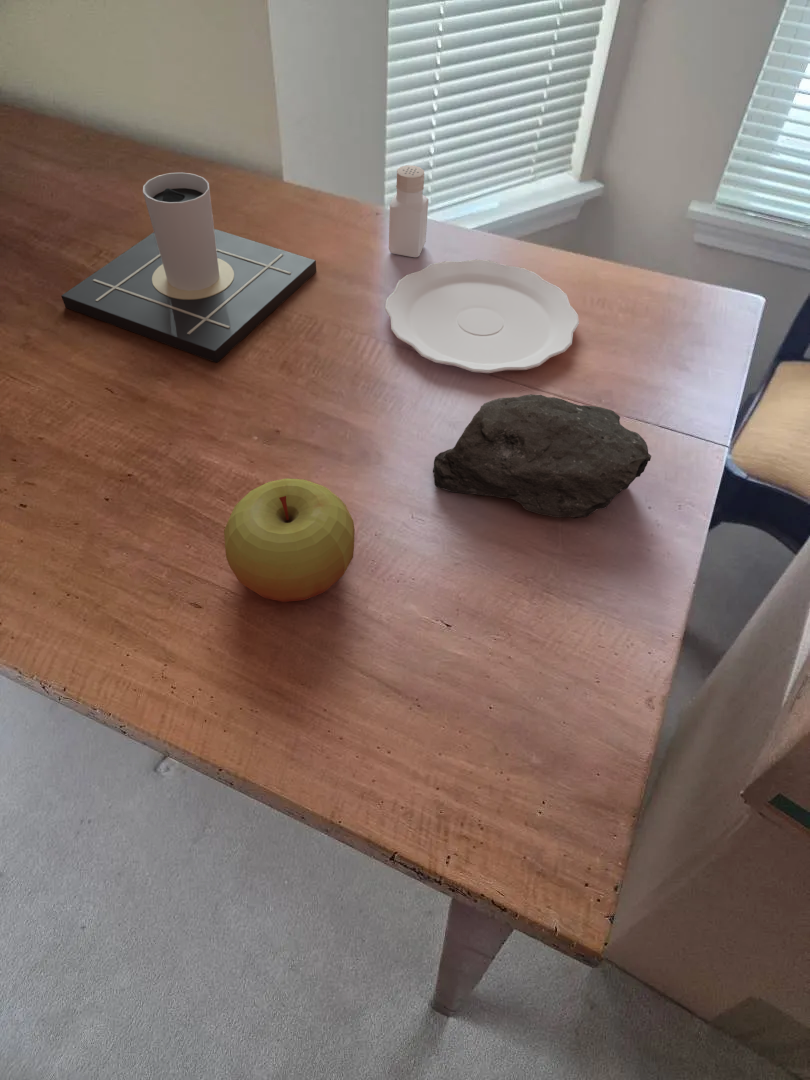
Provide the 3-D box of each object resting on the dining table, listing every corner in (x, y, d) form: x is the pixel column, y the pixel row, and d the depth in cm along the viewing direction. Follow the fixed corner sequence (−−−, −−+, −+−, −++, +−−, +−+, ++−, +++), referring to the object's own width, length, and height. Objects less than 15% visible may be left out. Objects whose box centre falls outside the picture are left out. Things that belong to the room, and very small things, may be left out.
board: (65, 307, 82) (60, 294, 81) (178, 228, 94) (175, 215, 93) (217, 363, 77) (214, 350, 76) (316, 271, 89) (316, 259, 87)
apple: (288, 506, 65) (280, 438, 59) (379, 559, 62) (380, 493, 55) (207, 579, 60) (188, 512, 53) (301, 642, 56) (293, 578, 50)
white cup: (157, 291, 82) (135, 201, 74) (169, 259, 86) (150, 170, 78) (218, 294, 82) (203, 204, 74) (228, 261, 86) (214, 173, 79)
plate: (421, 257, 92) (422, 244, 90) (589, 295, 88) (593, 282, 87) (358, 354, 79) (358, 341, 78) (552, 403, 75) (555, 390, 74)
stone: (437, 516, 61) (448, 392, 59) (427, 492, 70) (436, 383, 67) (652, 528, 63) (672, 408, 60) (617, 504, 71) (634, 397, 69)
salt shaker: (426, 244, 94) (431, 166, 86) (418, 260, 91) (423, 181, 84) (395, 238, 94) (398, 161, 87) (387, 254, 92) (389, 176, 84)
